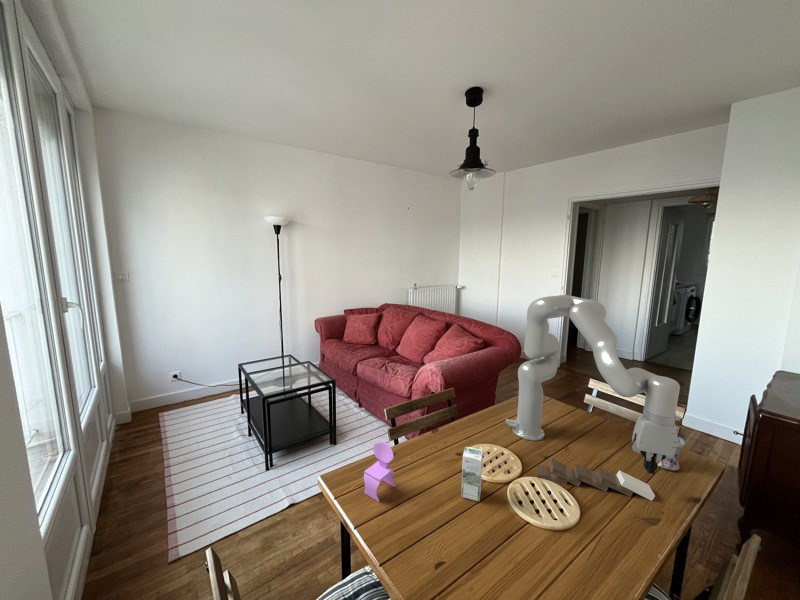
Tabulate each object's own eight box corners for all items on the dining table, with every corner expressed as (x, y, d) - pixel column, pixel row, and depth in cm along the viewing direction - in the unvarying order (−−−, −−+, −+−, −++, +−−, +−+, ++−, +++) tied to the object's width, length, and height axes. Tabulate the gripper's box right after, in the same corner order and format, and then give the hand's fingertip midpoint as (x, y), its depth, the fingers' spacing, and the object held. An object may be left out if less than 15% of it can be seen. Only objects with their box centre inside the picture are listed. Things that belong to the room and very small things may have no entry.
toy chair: (360, 492, 103) (360, 448, 101) (378, 477, 110) (378, 436, 108) (380, 504, 98) (380, 459, 96) (398, 488, 105) (398, 445, 103)
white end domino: (651, 500, 100) (621, 485, 103) (645, 489, 105) (616, 474, 108) (655, 496, 100) (624, 480, 102) (648, 484, 105) (619, 470, 107)
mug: (686, 468, 116) (690, 441, 114) (672, 476, 112) (677, 448, 110) (648, 450, 126) (651, 424, 125) (634, 456, 122) (638, 430, 121)
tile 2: (606, 491, 104) (576, 478, 107) (602, 481, 109) (574, 468, 112) (608, 486, 104) (578, 473, 106) (604, 476, 109) (576, 463, 111)
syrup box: (481, 489, 104) (483, 448, 102) (479, 503, 99) (481, 459, 97) (463, 485, 106) (465, 444, 104) (460, 498, 101) (462, 455, 99)
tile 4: (566, 485, 108) (537, 479, 111) (564, 475, 112) (536, 469, 115) (567, 480, 107) (537, 473, 110) (565, 470, 112) (537, 464, 115)
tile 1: (630, 496, 102) (600, 482, 104) (624, 485, 107) (596, 472, 109) (633, 491, 102) (603, 477, 104) (627, 480, 106) (598, 467, 109)
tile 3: (578, 486, 106) (551, 472, 108) (574, 476, 111) (549, 462, 113) (581, 482, 106) (554, 467, 107) (577, 471, 111) (551, 458, 112)
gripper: (682, 415, 100) (672, 469, 103) (625, 407, 105) (618, 458, 108) (694, 428, 93) (684, 485, 96) (633, 418, 98) (625, 473, 101)
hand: (649, 470), depth 102 cm, fingers closed
